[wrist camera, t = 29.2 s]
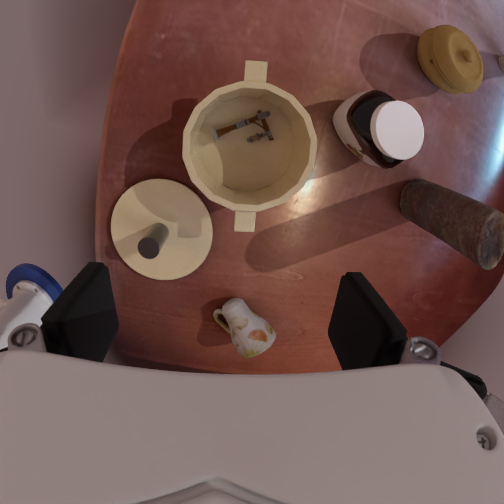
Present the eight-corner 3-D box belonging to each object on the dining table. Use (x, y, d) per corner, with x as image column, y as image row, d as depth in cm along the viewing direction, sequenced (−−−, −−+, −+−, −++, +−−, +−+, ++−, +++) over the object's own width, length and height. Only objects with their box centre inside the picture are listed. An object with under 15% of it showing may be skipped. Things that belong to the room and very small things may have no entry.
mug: (242, 280, 45) (274, 328, 39) (258, 307, 53) (286, 349, 46) (202, 305, 44) (229, 356, 38) (224, 328, 52) (248, 371, 45)
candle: (387, 201, 41) (471, 251, 23) (411, 167, 39) (502, 198, 21) (413, 227, 43) (491, 282, 25) (435, 195, 41) (519, 236, 23)
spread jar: (319, 117, 36) (351, 113, 25) (370, 75, 33) (413, 62, 22) (368, 179, 40) (410, 197, 29) (413, 136, 37) (461, 143, 26)
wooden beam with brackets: (281, 137, 35) (269, 106, 33) (223, 158, 35) (210, 127, 33) (278, 137, 37) (267, 107, 35) (223, 157, 37) (211, 127, 35)
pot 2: (423, 21, 28) (458, 8, 19) (464, 70, 31) (501, 67, 22) (396, 56, 31) (433, 43, 22) (440, 107, 35) (480, 108, 26)
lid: (119, 274, 43) (103, 296, 37) (110, 178, 37) (89, 188, 30) (212, 279, 45) (209, 304, 38) (214, 178, 38) (211, 188, 32)
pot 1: (191, 211, 40) (181, 231, 32) (197, 72, 32) (188, 57, 24) (292, 216, 41) (305, 236, 33) (304, 80, 33) (323, 68, 26)
